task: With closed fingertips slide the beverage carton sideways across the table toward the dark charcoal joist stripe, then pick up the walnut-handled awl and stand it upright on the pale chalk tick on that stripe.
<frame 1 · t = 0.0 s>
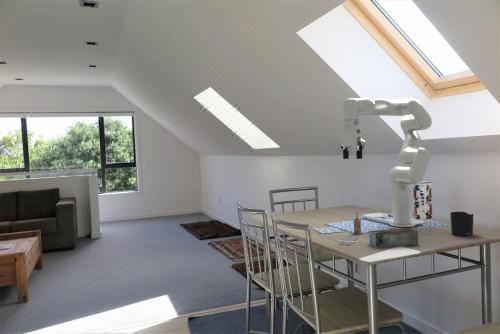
hand: (352, 158, 188), 37 cm above the table, tool pointing down, fingers open, 9 cm apart
beverage carton: (393, 245, 166), on the table
pen holder: (462, 234, 178), on the table
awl: (357, 233, 190), on the table
joist stripe: (349, 240, 176), on the table
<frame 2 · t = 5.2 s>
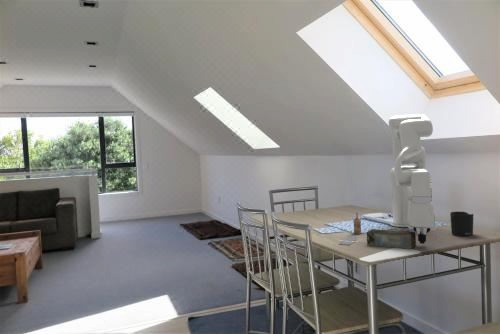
hand: (422, 243, 160), 1 cm above the table, tool pointing down, fingers closed
beverage carton: (391, 246, 165), on the table
everything else where it was.
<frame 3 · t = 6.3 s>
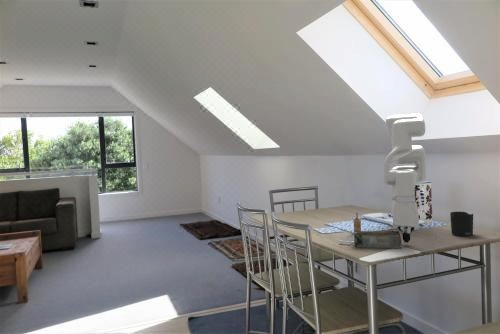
hand: (406, 241, 164), 1 cm above the table, tool pointing down, fingers closed
beverage carton: (377, 246, 165), on the table, touching gripper
everything else where it was.
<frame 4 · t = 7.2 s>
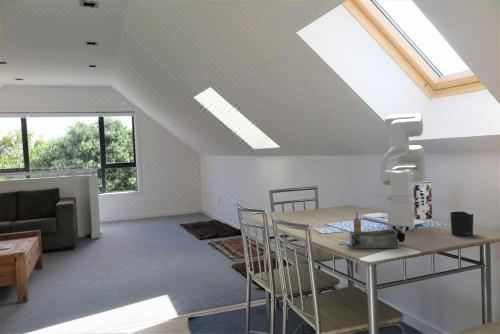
hand: (401, 241, 165), 1 cm above the table, tool pointing down, fingers closed
beverage carton: (373, 247, 164), on the table, touching gripper, joist stripe
everything else where it was.
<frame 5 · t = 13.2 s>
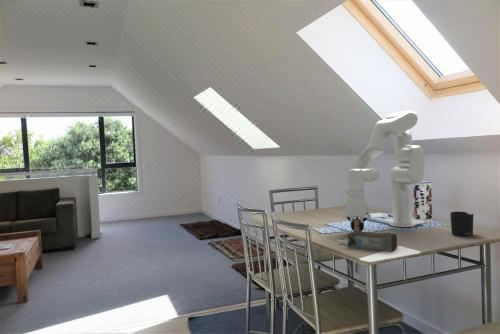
hand: (357, 229, 190), 2 cm above the table, tool pointing down, fingers closed on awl, 3 cm apart
beverage carton: (372, 248, 163), on the table
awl: (357, 233, 190), on the table, touching gripper
everything else where it was.
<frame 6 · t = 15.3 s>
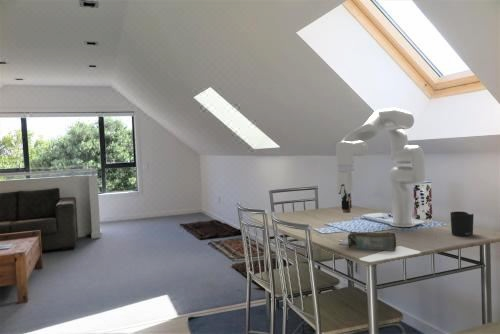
hand: (346, 208, 174), 15 cm above the table, tool pointing down, fingers closed on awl, 3 cm apart
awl: (346, 212, 174), point 14 cm above the table, touching gripper
when the fingers open (3 cm above the table, at t = 17.7 s): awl drops 2 cm, resting on joist stripe.
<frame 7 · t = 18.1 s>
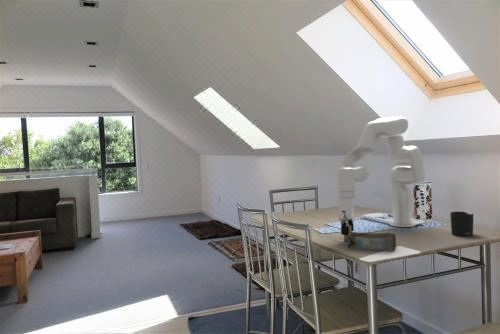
hand: (347, 232, 174), 4 cm above the table, tool pointing down, fingers open, 7 cm apart
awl: (347, 241, 174), resting on joist stripe
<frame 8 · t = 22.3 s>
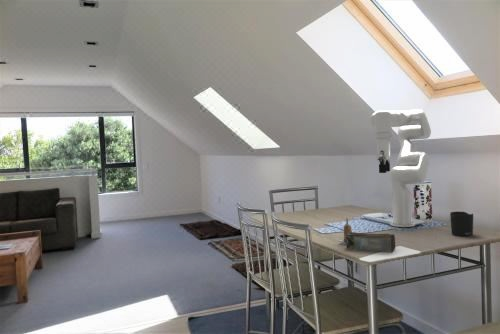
hand: (384, 172, 184), 30 cm above the table, tool pointing down, fingers open, 9 cm apart
beverage carton: (370, 249, 161), on the table
everything else where it was.
at the end: beverage carton inside the target area (6.7 cm from its centre), on the table; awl inside the target area (0.1 cm from its centre), resting on joist stripe; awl tilted 0° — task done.
